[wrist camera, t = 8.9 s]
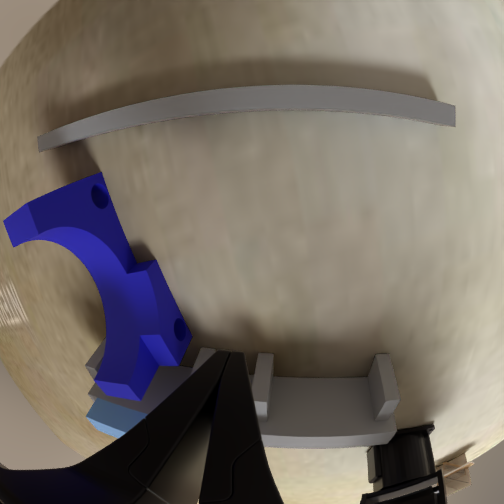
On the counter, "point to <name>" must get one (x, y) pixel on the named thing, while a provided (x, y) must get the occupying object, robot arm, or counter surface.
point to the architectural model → (456, 474)
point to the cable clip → (111, 283)
